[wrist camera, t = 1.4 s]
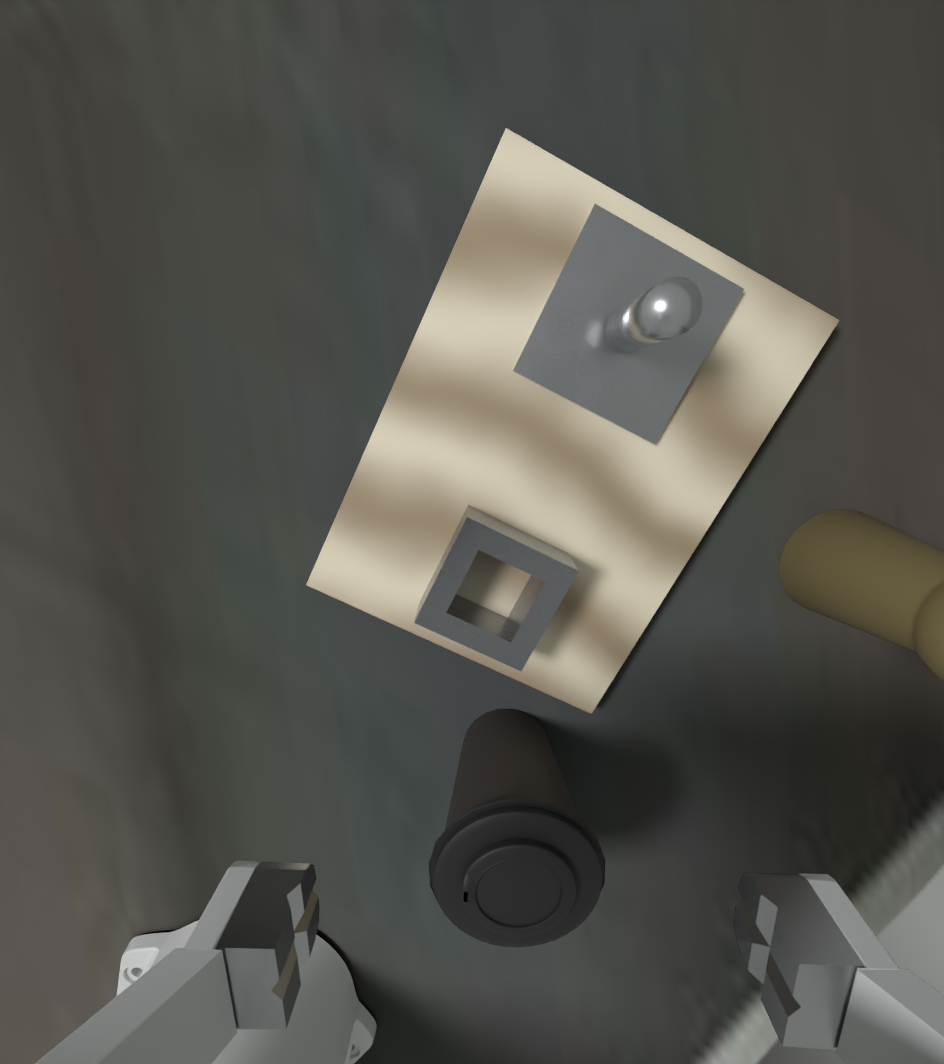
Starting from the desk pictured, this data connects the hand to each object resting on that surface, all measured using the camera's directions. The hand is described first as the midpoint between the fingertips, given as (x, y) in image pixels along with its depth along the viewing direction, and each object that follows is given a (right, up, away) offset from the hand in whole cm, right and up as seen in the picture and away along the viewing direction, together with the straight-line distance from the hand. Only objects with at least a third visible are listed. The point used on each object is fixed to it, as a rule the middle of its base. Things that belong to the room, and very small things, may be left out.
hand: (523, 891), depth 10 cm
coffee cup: (+1, -7, +22) cm, 23 cm away
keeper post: (+6, +17, +15) cm, 23 cm away
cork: (+19, +5, +19) cm, 28 cm away
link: (0, +4, +18) cm, 18 cm away
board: (+3, +11, +17) cm, 21 cm away
